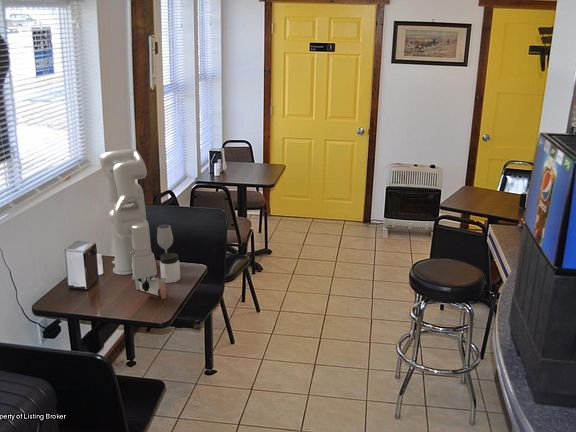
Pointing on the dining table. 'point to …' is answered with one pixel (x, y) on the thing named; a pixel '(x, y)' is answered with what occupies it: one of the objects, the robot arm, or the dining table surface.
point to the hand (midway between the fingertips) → (146, 290)
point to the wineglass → (164, 236)
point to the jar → (170, 267)
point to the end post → (162, 288)
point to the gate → (153, 285)
